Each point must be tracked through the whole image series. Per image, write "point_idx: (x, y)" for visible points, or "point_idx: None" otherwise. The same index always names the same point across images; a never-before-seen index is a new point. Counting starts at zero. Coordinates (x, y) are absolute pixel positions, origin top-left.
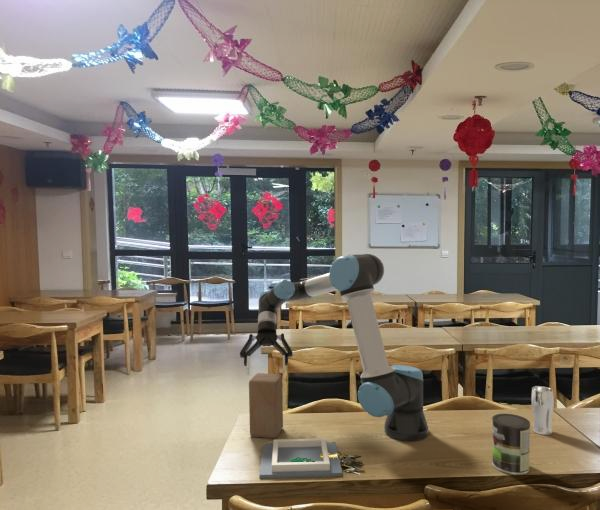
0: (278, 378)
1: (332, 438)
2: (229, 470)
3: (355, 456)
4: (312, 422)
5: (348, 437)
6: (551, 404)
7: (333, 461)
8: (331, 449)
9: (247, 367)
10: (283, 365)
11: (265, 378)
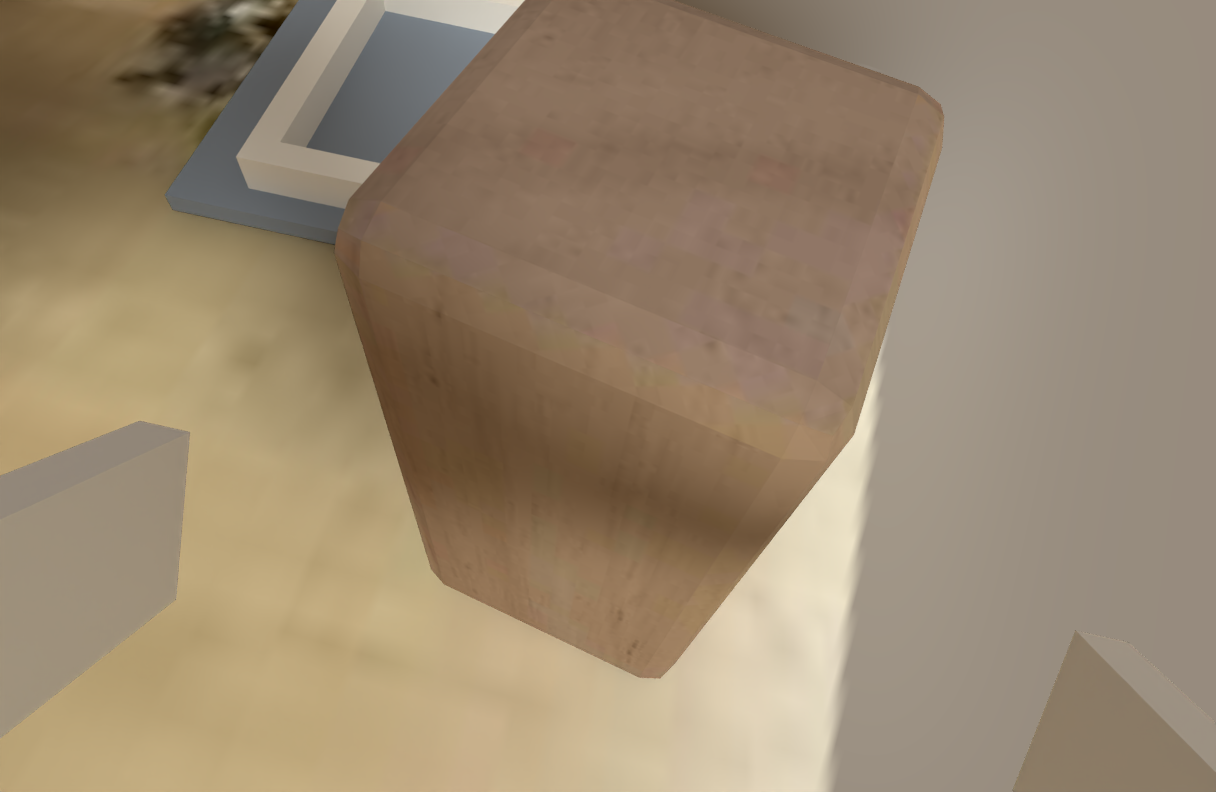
0: (463, 71)
1: (132, 292)
2: None
3: (148, 82)
4: None
5: (8, 274)
6: None
7: (310, 38)
8: (249, 129)
9: (1173, 708)
10: (63, 473)
11: (688, 86)
